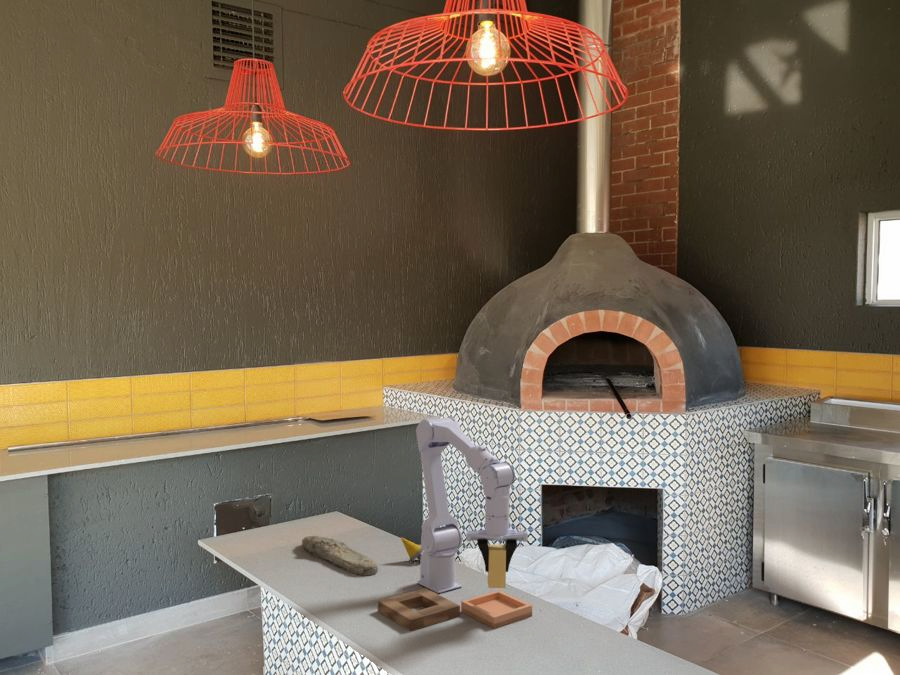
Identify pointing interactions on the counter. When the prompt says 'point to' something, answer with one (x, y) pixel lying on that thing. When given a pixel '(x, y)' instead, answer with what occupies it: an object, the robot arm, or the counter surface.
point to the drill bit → (412, 549)
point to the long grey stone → (340, 555)
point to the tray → (496, 608)
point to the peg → (497, 566)
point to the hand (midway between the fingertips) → (496, 570)
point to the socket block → (412, 620)
